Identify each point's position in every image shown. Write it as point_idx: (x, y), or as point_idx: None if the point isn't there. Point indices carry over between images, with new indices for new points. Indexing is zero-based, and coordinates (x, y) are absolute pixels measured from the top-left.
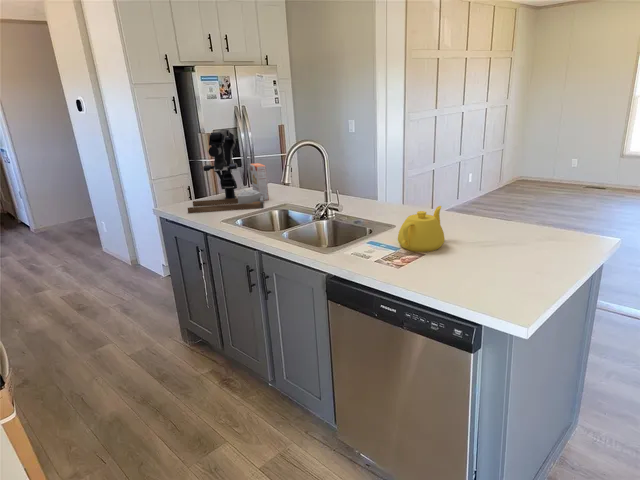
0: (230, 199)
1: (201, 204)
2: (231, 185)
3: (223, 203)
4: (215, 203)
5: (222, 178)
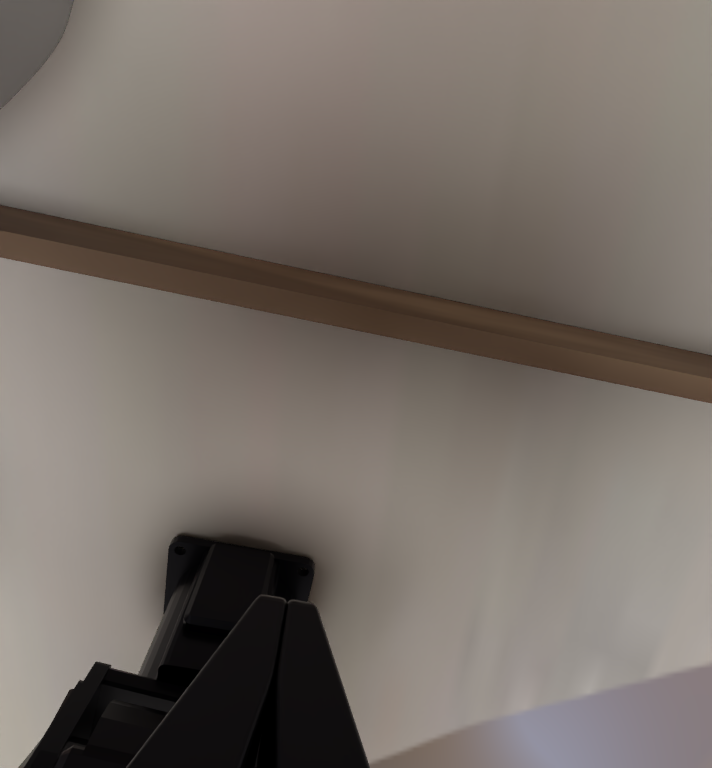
0: (219, 274)
1: (707, 361)
2: (117, 709)
3: (358, 286)
4: (489, 315)
5: (220, 717)
